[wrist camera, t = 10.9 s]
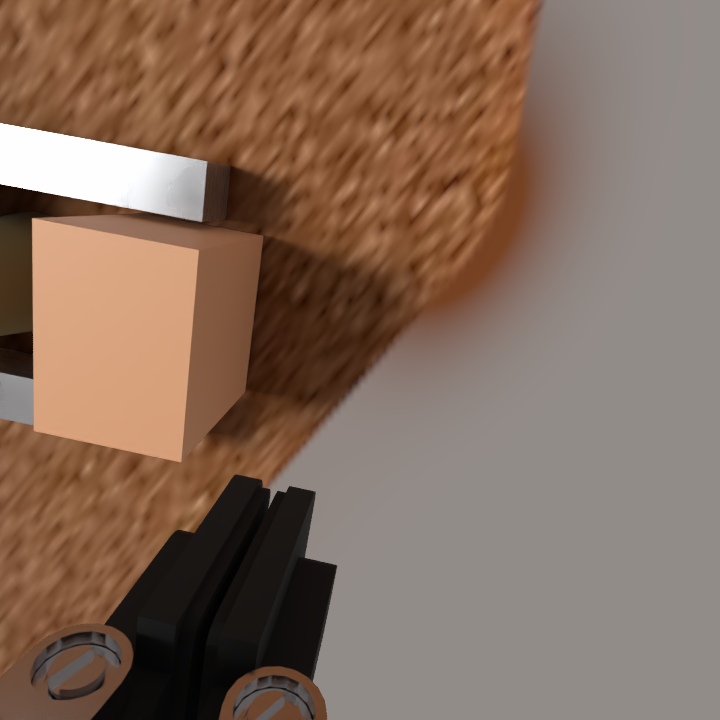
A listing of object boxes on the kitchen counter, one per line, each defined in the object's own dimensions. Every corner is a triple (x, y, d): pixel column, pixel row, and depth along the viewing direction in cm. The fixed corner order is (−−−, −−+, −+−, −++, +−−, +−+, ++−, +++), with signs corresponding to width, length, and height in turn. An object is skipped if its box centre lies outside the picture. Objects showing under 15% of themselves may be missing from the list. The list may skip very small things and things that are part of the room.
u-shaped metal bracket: (-87, 107, 26) (-228, 81, 21) (231, 165, 25) (176, 155, 20) (-69, 374, 30) (-182, 415, 25) (205, 432, 30) (153, 487, 24)
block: (144, 213, 26) (32, 218, 19) (263, 235, 26) (198, 250, 18) (136, 369, 29) (34, 430, 21) (244, 392, 28) (181, 462, 21)
